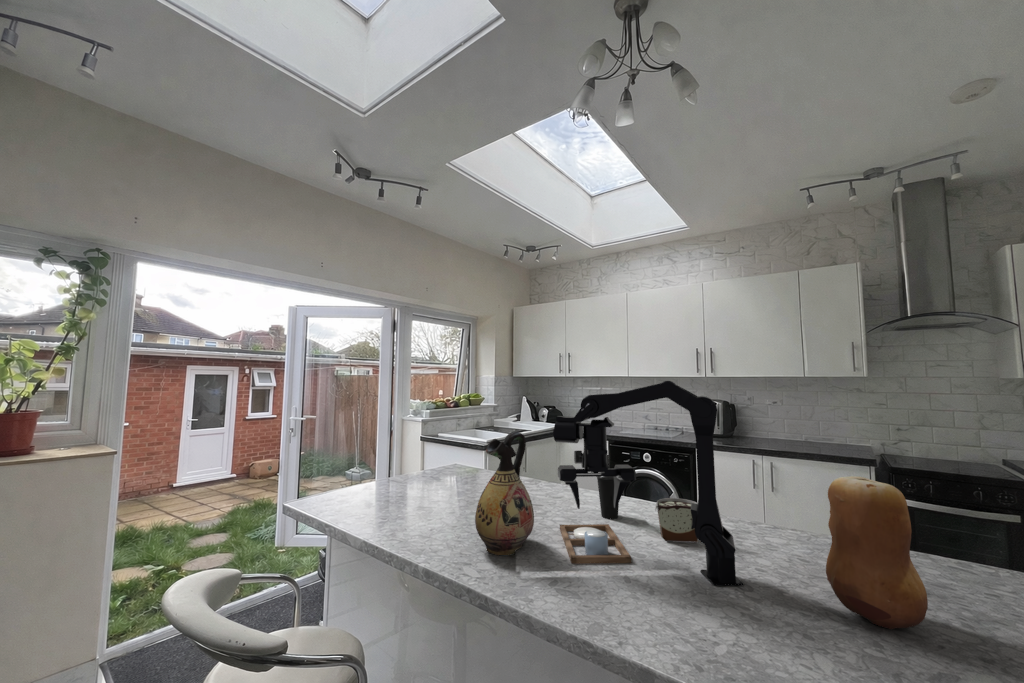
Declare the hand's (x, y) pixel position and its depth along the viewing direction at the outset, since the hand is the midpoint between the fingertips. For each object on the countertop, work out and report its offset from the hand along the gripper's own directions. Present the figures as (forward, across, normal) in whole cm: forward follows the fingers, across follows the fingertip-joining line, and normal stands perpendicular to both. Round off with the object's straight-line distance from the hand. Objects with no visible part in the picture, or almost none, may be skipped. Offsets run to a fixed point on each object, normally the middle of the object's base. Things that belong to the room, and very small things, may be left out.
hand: (596, 508), depth 103 cm
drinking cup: (+12, -10, -28) cm, 32 cm away
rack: (+12, 0, -6) cm, 13 cm away
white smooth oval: (+11, 0, -11) cm, 15 cm away
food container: (+12, -25, -12) cm, 30 cm away
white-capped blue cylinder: (+11, 0, 0) cm, 11 cm away
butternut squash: (+12, -44, +28) cm, 54 cm away
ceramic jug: (+12, +22, -6) cm, 26 cm away
